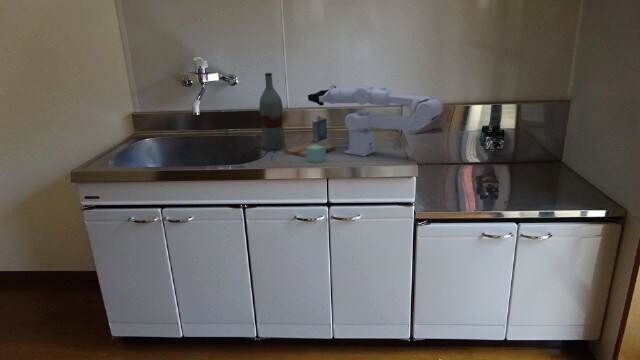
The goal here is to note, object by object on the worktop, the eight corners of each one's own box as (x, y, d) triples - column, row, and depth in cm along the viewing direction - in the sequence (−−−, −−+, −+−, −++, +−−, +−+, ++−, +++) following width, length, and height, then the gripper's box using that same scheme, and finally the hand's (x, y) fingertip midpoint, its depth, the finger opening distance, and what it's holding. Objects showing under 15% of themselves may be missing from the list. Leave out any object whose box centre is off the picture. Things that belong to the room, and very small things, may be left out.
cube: (325, 159, 162) (325, 146, 160) (316, 163, 158) (316, 149, 157) (315, 157, 165) (314, 144, 164) (306, 161, 162) (305, 147, 160)
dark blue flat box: (316, 142, 187) (315, 117, 184) (311, 141, 189) (309, 117, 185) (328, 137, 194) (327, 113, 191) (322, 137, 196) (322, 113, 192)
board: (334, 149, 174) (334, 146, 174) (311, 158, 164) (311, 154, 164) (308, 145, 183) (308, 142, 183) (284, 153, 173) (284, 149, 173)
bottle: (260, 150, 178) (254, 74, 168) (264, 144, 187) (258, 72, 177) (283, 150, 177) (278, 73, 168) (286, 144, 186) (281, 71, 176)
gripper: (352, 81, 170) (323, 82, 178) (332, 88, 159) (302, 88, 167) (353, 100, 173) (325, 100, 180) (334, 107, 162) (304, 107, 169)
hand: (314, 95), depth 174 cm, fingers open, 7 cm apart
